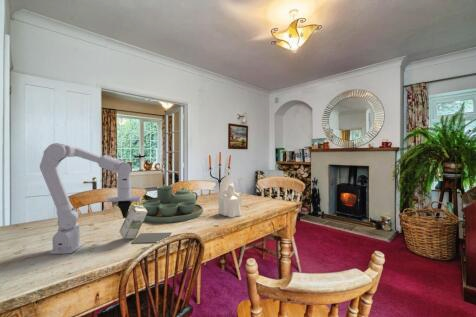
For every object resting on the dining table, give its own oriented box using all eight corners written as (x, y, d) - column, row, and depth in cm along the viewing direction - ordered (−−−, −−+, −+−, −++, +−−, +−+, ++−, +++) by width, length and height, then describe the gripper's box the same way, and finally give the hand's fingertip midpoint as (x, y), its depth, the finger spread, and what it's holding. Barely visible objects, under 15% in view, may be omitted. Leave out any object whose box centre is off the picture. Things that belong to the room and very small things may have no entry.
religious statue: (227, 219, 140) (228, 169, 139) (216, 213, 152) (217, 168, 150) (250, 214, 150) (251, 168, 149) (238, 209, 161) (239, 166, 160)
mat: (165, 242, 103) (165, 241, 103) (131, 243, 102) (131, 242, 102) (171, 233, 115) (171, 232, 115) (140, 234, 114) (140, 233, 114)
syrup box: (130, 232, 112) (142, 205, 111) (135, 239, 108) (148, 211, 107) (118, 232, 107) (131, 204, 107) (123, 239, 104) (136, 210, 103)
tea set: (124, 219, 140) (123, 192, 139) (167, 205, 177) (167, 183, 177) (178, 227, 125) (178, 197, 125) (213, 210, 162) (213, 186, 162)
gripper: (143, 186, 111) (143, 214, 112) (112, 187, 110) (112, 215, 111) (138, 188, 104) (138, 218, 105) (104, 189, 103) (105, 219, 104)
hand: (125, 217), depth 107 cm, fingers closed
